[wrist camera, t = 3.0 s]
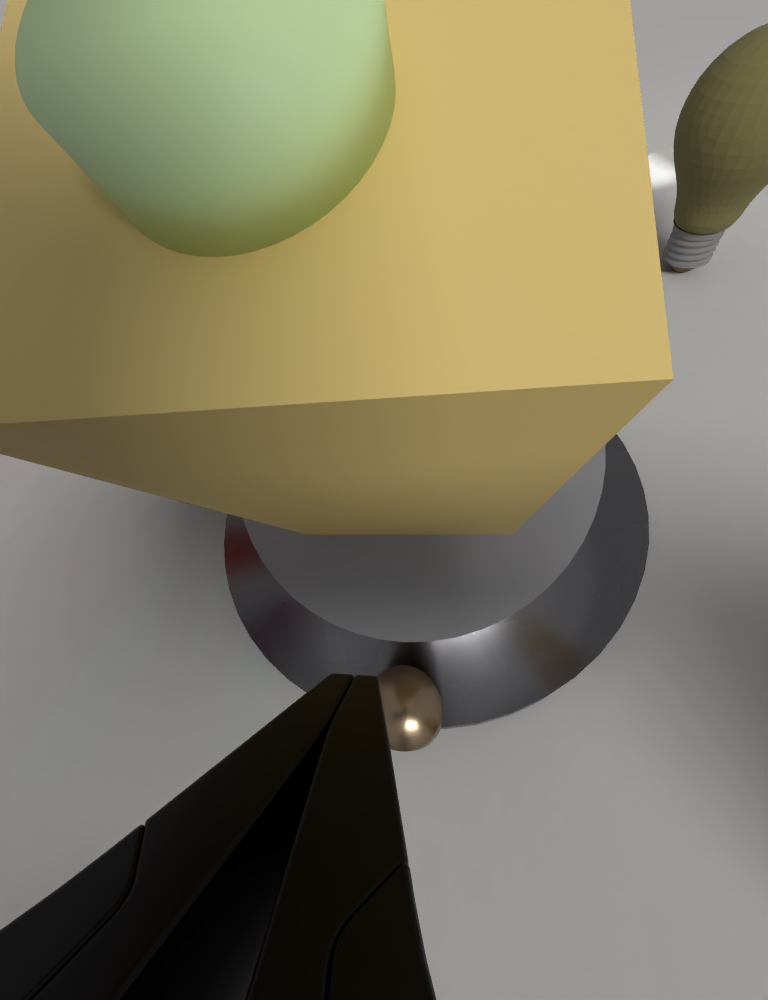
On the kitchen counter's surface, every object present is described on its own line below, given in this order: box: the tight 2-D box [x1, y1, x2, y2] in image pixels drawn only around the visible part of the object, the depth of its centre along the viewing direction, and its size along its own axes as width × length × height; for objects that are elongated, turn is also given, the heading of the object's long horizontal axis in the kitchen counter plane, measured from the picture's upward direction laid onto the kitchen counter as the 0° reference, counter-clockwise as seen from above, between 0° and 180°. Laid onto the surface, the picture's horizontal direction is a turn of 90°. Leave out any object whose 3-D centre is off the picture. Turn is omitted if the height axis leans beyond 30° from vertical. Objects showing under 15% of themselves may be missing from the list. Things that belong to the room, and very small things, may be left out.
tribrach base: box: [224, 434, 649, 751], centre depth 18 cm, size 19×18×4 cm
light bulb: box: [663, 24, 768, 272], centre depth 21 cm, size 6×6×10 cm
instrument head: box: [0, 0, 673, 642], centre depth 10 cm, size 13×13×13 cm
